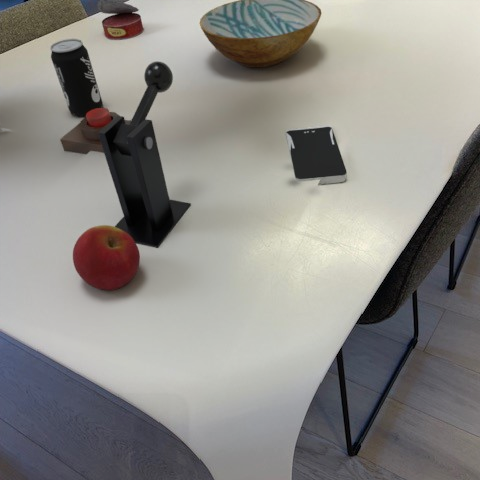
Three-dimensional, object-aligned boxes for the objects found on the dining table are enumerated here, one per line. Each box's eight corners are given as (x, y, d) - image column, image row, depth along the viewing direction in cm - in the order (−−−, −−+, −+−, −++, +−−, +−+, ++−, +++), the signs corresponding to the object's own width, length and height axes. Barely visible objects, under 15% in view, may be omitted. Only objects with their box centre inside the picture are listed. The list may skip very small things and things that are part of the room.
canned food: (109, 54, 129) (86, 14, 124) (139, 38, 132) (118, -2, 127) (122, 41, 119) (98, -3, 115) (155, 24, 122) (133, -19, 118)
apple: (102, 313, 59) (80, 263, 53) (75, 278, 64) (53, 229, 58) (156, 284, 62) (142, 234, 56) (127, 253, 66) (111, 203, 60)
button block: (64, 150, 87) (56, 129, 84) (92, 126, 92) (86, 105, 89) (121, 160, 83) (115, 137, 80) (148, 134, 88) (142, 112, 85)
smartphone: (295, 179, 73) (285, 129, 82) (295, 187, 74) (285, 137, 83) (347, 174, 72) (331, 125, 82) (347, 182, 73) (330, 132, 83)
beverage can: (93, 119, 94) (72, 52, 85) (64, 117, 96) (40, 51, 87) (109, 103, 98) (91, 38, 89) (81, 101, 100) (60, 37, 91)
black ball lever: (156, 76, 66) (146, 53, 62) (180, 78, 65) (171, 55, 61) (118, 157, 62) (105, 137, 59) (142, 161, 61) (130, 141, 58)
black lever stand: (144, 201, 74) (118, 104, 63) (192, 210, 72) (173, 110, 61) (109, 242, 68) (73, 142, 57) (159, 253, 66) (132, 151, 55)
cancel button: (84, 127, 84) (81, 117, 83) (97, 116, 87) (94, 106, 85) (103, 129, 83) (100, 119, 82) (116, 118, 85) (113, 108, 84)
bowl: (186, 78, 103) (180, 36, 97) (227, 34, 119) (223, -5, 113) (304, 85, 96) (304, 40, 90) (330, 37, 112) (333, -4, 106)
